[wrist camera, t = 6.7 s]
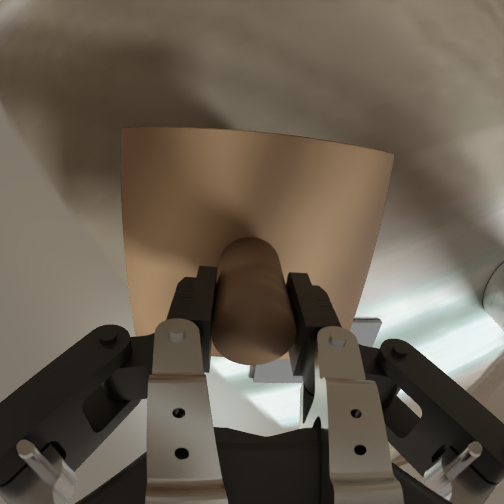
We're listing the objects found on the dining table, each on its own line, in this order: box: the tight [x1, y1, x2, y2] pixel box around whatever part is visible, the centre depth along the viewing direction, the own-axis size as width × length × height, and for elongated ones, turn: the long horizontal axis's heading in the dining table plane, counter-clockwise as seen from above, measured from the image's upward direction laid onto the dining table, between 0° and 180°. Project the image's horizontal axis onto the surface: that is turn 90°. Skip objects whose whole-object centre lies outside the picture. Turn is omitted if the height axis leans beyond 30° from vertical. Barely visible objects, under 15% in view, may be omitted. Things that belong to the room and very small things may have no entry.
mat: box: [253, 320, 382, 383], centre depth 35 cm, size 14×10×1 cm
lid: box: [121, 127, 395, 365], centre depth 13 cm, size 12×12×6 cm
